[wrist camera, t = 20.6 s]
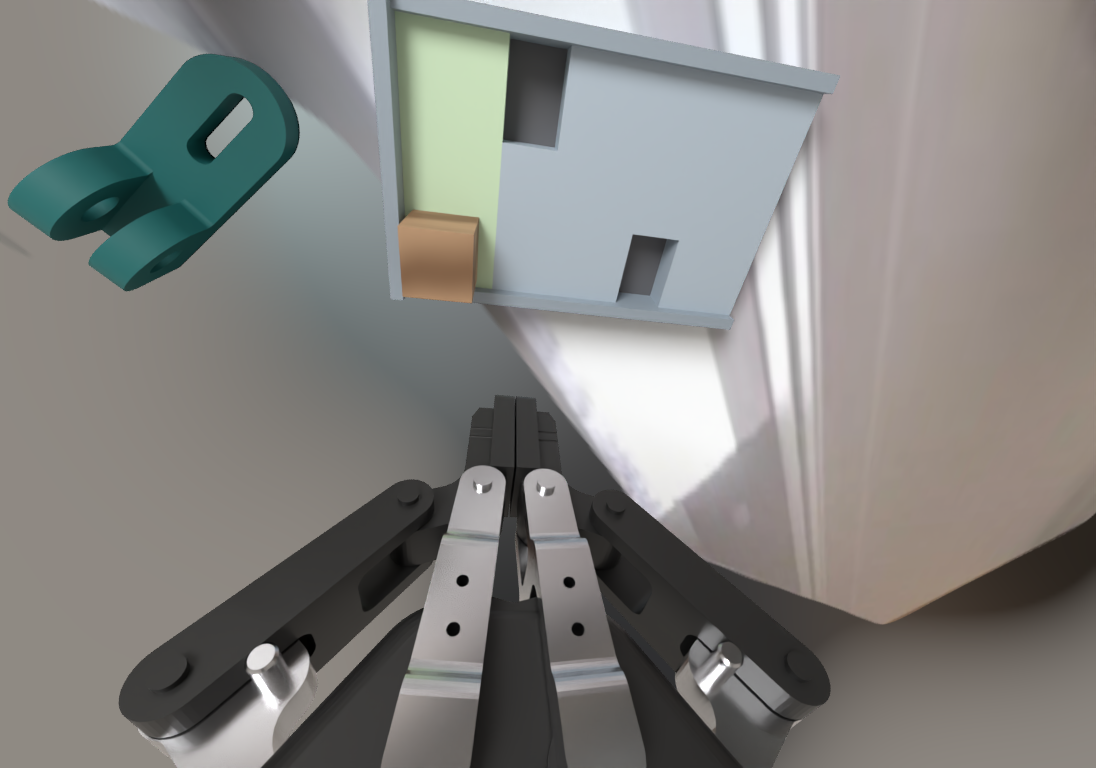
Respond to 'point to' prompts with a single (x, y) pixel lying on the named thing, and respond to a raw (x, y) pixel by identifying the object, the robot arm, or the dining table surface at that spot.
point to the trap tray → (585, 156)
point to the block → (438, 256)
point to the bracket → (166, 172)
